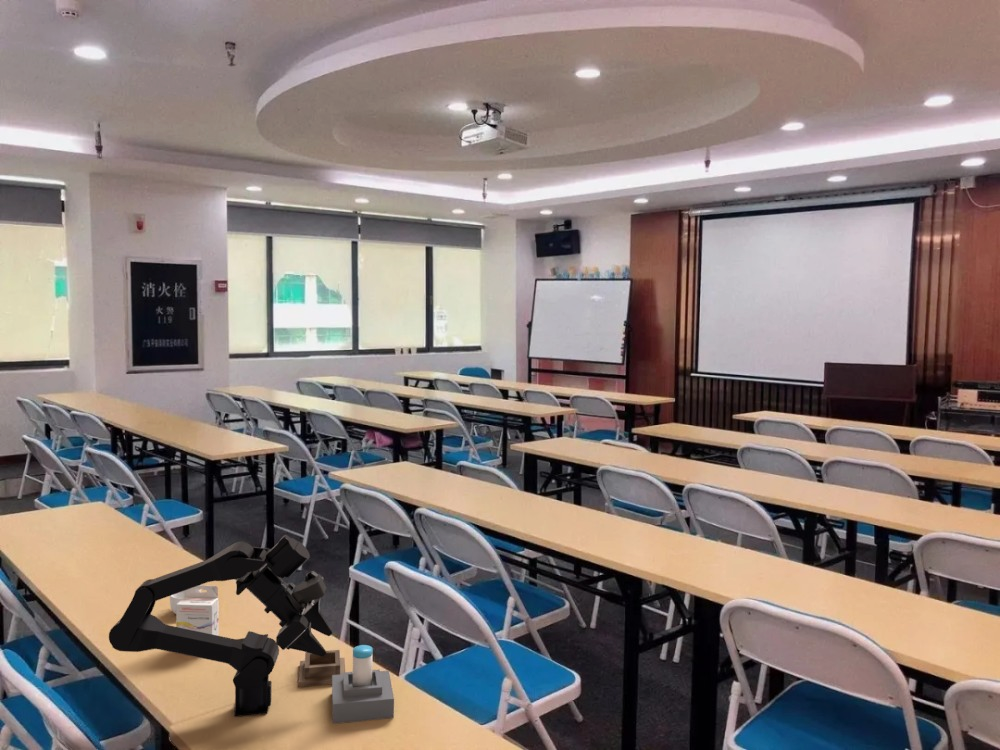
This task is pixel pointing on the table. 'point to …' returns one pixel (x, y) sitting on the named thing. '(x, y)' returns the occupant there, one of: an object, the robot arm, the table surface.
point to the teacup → (177, 600)
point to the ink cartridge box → (199, 610)
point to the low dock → (320, 668)
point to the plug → (362, 666)
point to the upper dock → (362, 698)
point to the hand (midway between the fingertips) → (328, 644)
